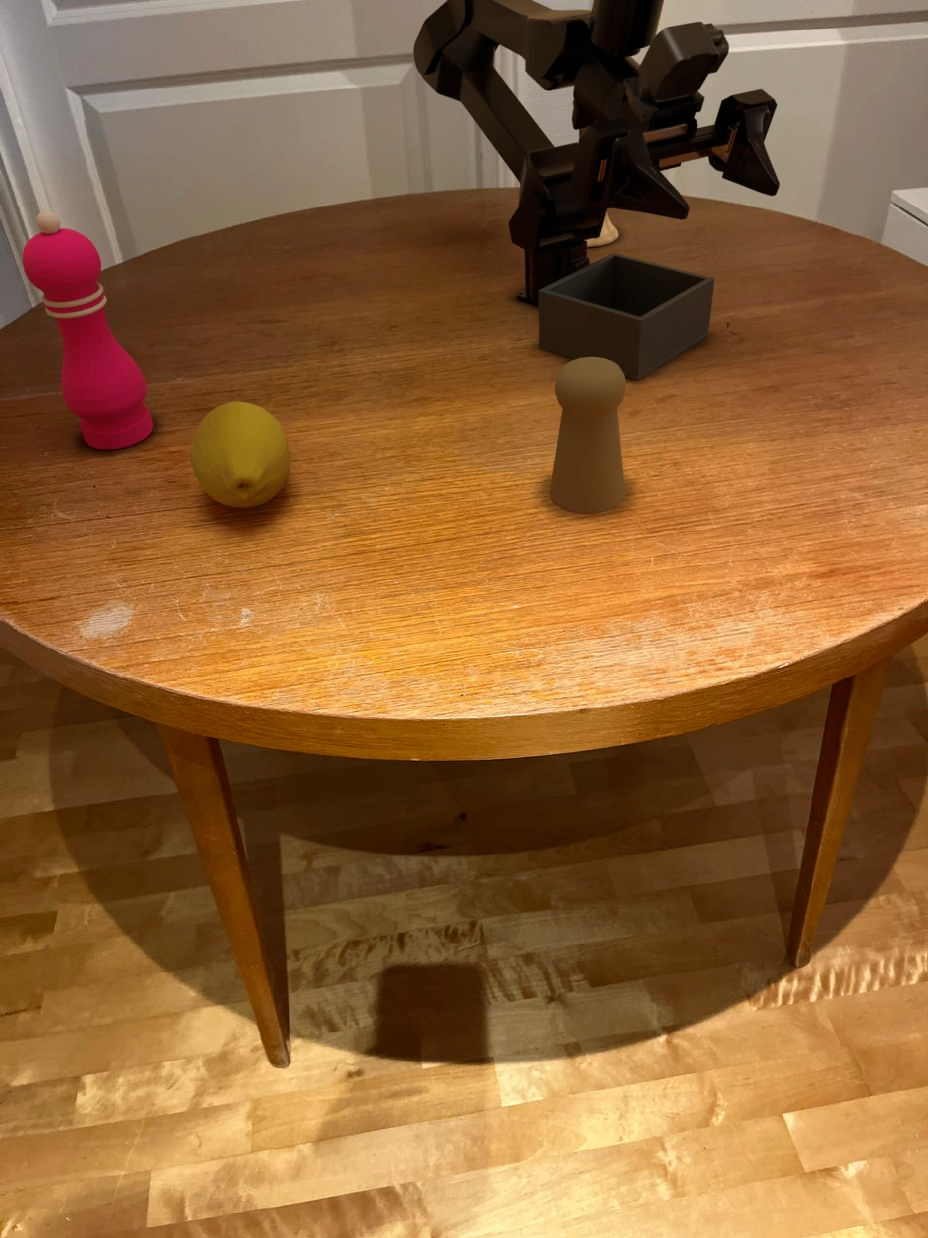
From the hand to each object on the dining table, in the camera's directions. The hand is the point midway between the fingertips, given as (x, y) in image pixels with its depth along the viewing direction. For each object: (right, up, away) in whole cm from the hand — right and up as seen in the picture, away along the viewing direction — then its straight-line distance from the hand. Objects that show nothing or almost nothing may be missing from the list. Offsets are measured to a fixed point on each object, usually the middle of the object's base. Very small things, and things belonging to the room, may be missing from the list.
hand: (732, 201), depth 77 cm
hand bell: (-6, +15, +43) cm, 46 cm away
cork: (-12, -24, 0) cm, 27 cm away
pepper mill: (-54, -17, +12) cm, 58 cm away
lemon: (-39, -24, +2) cm, 46 cm away
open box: (-6, -6, +20) cm, 21 cm away
